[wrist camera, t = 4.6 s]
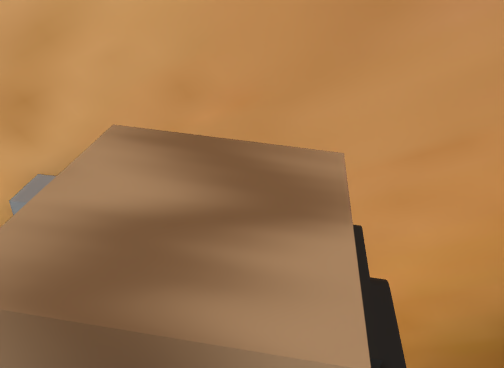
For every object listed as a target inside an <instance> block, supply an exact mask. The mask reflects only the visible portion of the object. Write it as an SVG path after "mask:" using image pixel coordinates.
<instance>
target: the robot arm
mask: <svg viewBox="0 0 504 368" xmlns="http://www.w3.org/2000/svg"><path fill="white" fill-rule="evenodd" d="M353 230H354V238H355V246H356V254H357V262H358V270H359V278H360V286H361V294H362V301H363V309H364V317H365V325H366V333H367V341H368V349H369V357H370V365H371V368H406V363H405V359H404V354H403V349H402V344H401V339H400V335H399V330H398V325H397V320H396V315H395V311H394V306H393V301H392V296H391V292H390V287H389V284H388V282H387V280H384V279H377V278H371V277H370V276H369V269H368V263H367V257H366V250H365V244H364V237H363V231H362V227H361V226H359V225H353Z"/></svg>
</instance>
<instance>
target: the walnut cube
mask: <svg viewBox="0 0 504 368" xmlns="http://www.w3.org/2000/svg"><path fill="white" fill-rule="evenodd" d="M0 368H371V365H370V357H369V349H368V341H367V333H366V325H365V317H364V309H363V301H362V294H361V286H360V278H359V270H358V262H357V254H356V246H355V238H354V230H353V222H352V214H351V206H350V198H349V191H348V183H347V175H346V167H345V159H344V153H338V152H330V151H322V150H314V149H306V148H298V147H290V146H282V145H274V144H266V143H258V142H250V141H242V140H234V139H225V138H217V137H209V136H201V135H193V134H185V133H177V132H169V131H161V130H153V129H145V128H137V127H129V126H121V125H112V126H111V127H110V128H109V129H108V130H107V131H105V132H104V133H103V134H102V135H101V136H100V137H99V138H98V139H97V140H96V141H95V142H93V143H92V144H91V145H90V146H89V147H88V148H87V149H86V150H85V151H84V152H82V153H81V154H80V155H79V156H78V157H77V158H76V159H75V160H74V161H73V162H72V163H70V164H69V165H68V166H67V167H66V168H65V169H64V170H63V171H62V172H61V173H59V174H58V175H57V176H56V177H55V178H54V179H53V180H52V181H51V182H50V183H49V184H47V185H46V186H45V187H44V188H43V189H42V190H41V191H40V192H39V193H38V194H36V195H35V196H34V197H33V198H32V199H31V200H30V201H29V202H28V203H27V204H26V205H24V206H23V207H22V208H21V209H20V210H19V211H18V212H17V213H16V214H15V215H13V216H12V217H11V218H10V219H9V220H8V221H7V222H6V223H5V224H4V225H3V226H1V227H0Z"/></svg>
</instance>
